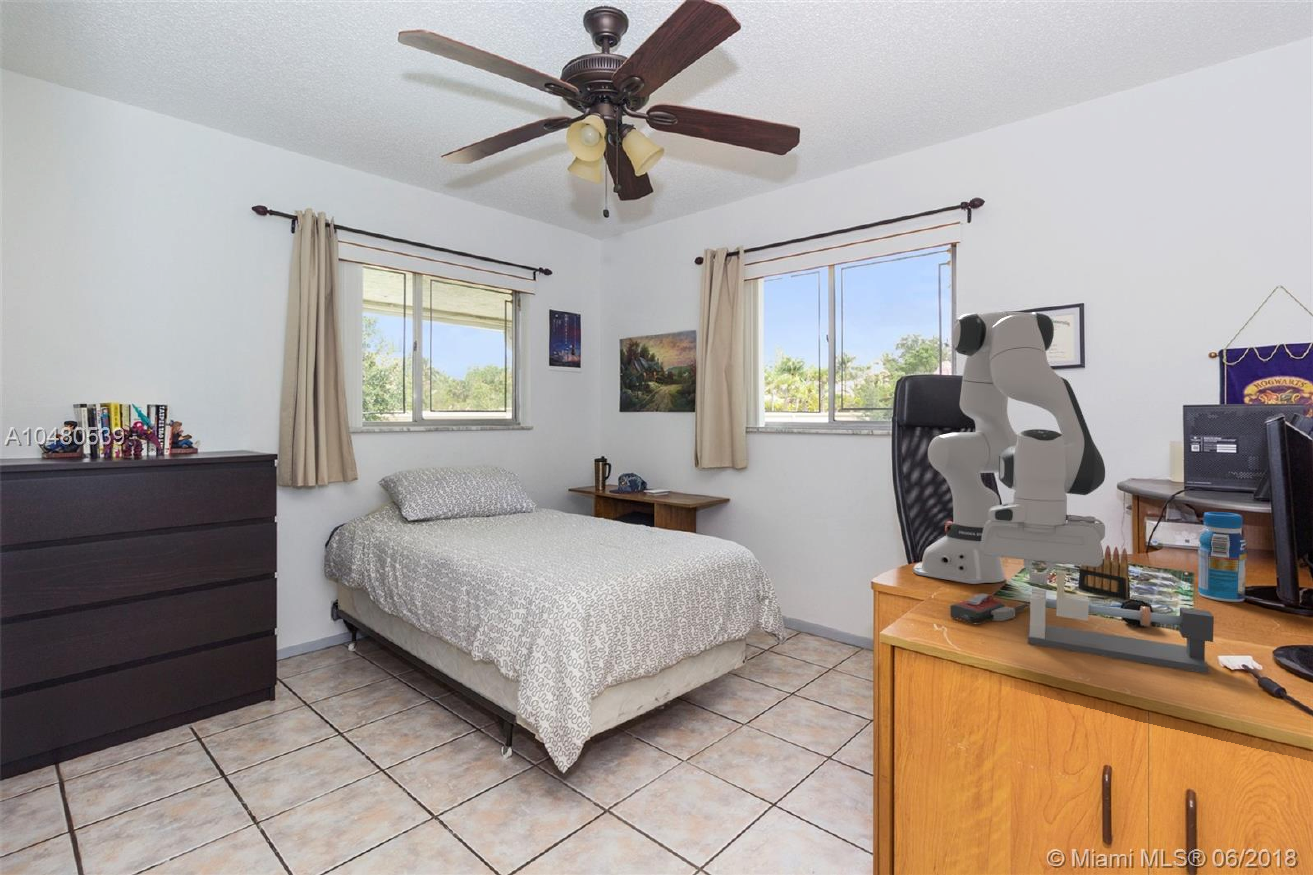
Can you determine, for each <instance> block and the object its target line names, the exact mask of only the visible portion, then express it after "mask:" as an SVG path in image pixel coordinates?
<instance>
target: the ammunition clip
mask: <svg viewBox="0 0 1313 875" xmlns="http://www.w3.org/2000/svg"><path fill="white" fill-rule="evenodd" d="M1101 547H1102V557H1103V563H1102V564H1101V565H1100V566H1098V567H1091V566H1082V565H1080V568H1079V571H1078V573H1079V574H1078V589H1080V590H1084V591H1088V592H1091V591H1093V592H1092V593H1096V594H1101V595H1103V596H1104V595H1105V596H1108V597H1113V598H1118V599H1120V600H1121V599H1122V600H1126V601H1127V600H1128V599H1129V600H1131V586H1130V584H1131V583H1130V581H1131V580H1130V576H1129V563H1128V560H1129V559H1128V552H1127V549H1126V548H1125V547H1124V548H1123V550H1122V552H1121V555H1120V552H1119V548H1118V546H1115V547H1114V549H1113V552H1111V547H1110V545H1106V547H1105V551H1104V550H1103V546H1102V544H1101ZM1111 553H1112V554H1111ZM1120 556H1121V557H1120Z"/></svg>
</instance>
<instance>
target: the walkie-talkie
mask: <svg viewBox="0 0 1313 875" xmlns="http://www.w3.org/2000/svg"><path fill="white" fill-rule="evenodd" d="M1029 607H1030V604H1029V603H1028V602H1027V603H1023V604H1020V605H1018V606H1015V607H1009V606H1006V604H1005V603H1004V602H1002V601H999V600H995V599H994V596H993V595H991V594H988V593H982V592H981V593H978V594H975V595H973V596H972V597H971V598H968V599H965V600H963V601H961V602H957V603H954V604H950V615H951V616H950V615H949V616H950V617H951V618H952V617H953V619H956V618H958V619H957V620H959V619H961V620H960V621H963V620H964V621H963V622H968V623H969V624H970V623H971V624H974V623H978V624H977V625H980V624H979V623H981V624H983V623H986V621H987V622H989V621H993V622H994V621H996V622H997V621H999V622H1001V621H1002V622H1004V621H1008V620H1010V619H1014V618H1016V613H1018V612H1021V611H1024V610H1025V609H1026V608H1029ZM988 620H989V621H988Z"/></svg>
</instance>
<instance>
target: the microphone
mask: <svg viewBox="0 0 1313 875" xmlns="http://www.w3.org/2000/svg"><path fill="white" fill-rule="evenodd" d="M1141 606H1144V607H1150V612H1151V613H1154V610H1153V606H1152V604H1151V603H1150V602H1148V601H1144V600H1140V599H1134V598H1132V599H1131V598H1130V599H1129V600H1126V601H1124V602H1122V604H1121V607H1120V608H1121V609H1129V610H1136V611H1140V608H1141ZM1121 620H1123V621H1124V622H1125V623H1126V624H1128V625H1129V626H1134V627H1138V628H1144V627H1146V626H1143V625H1141V623H1140V620H1136V619H1129V618H1122V617H1121ZM1152 623H1153V622H1151V623H1150V626H1151V625H1152Z"/></svg>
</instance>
